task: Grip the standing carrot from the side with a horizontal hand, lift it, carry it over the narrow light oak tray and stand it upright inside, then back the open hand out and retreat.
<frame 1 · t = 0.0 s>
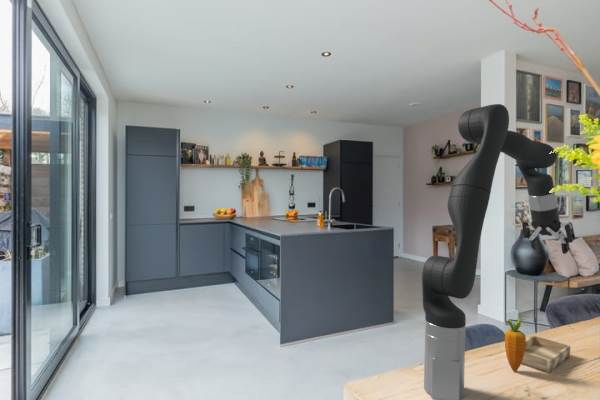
hand: (550, 251, 117), 31 cm above the table, tool tilted 20°, fingers open, 8 cm apart
carrot: (514, 372, 98), on the table
oak tray: (540, 358, 106), on the table
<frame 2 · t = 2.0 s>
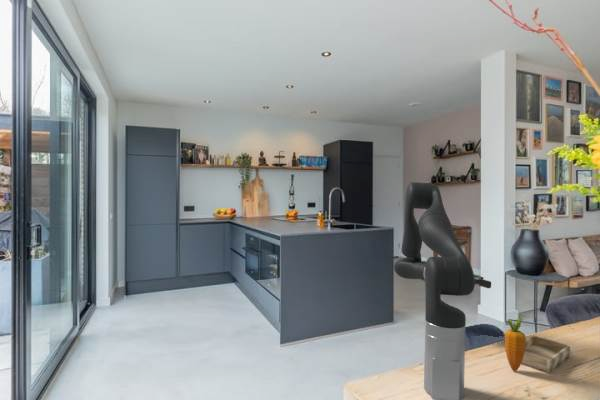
hand: (480, 286, 108), 21 cm above the table, tool horizontal, fingers open, 8 cm apart
nothing on the table moved.
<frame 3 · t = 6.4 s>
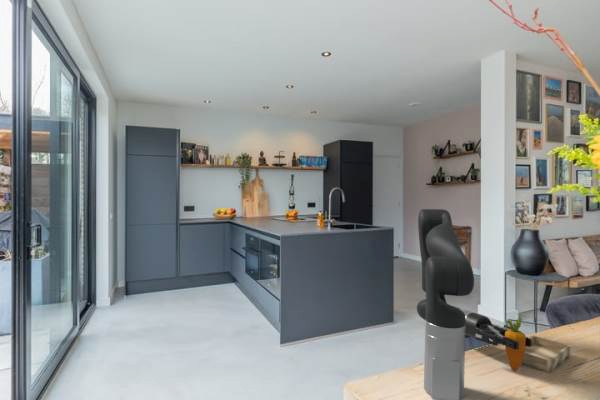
hand: (524, 344, 95), 9 cm above the table, tool horizontal, fingers closed on carrot, 5 cm apart
carrot: (514, 372, 98), on the table, touching gripper
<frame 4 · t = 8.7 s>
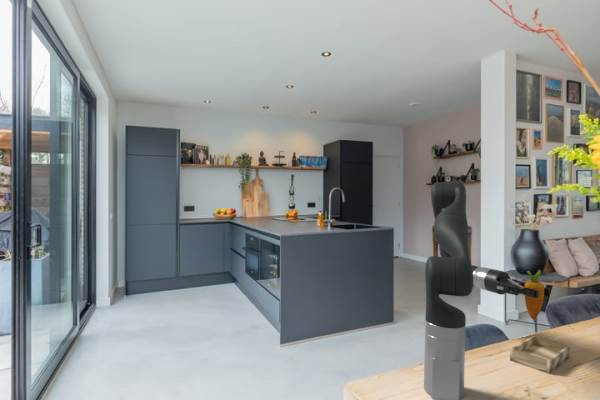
hand: (543, 293, 102), 21 cm above the table, tool horizontal, fingers closed on carrot, 5 cm apart
carrot: (533, 320, 105), point 12 cm above the table, touching gripper
when the fingers open (11 cm above the table, at t = 11.4 s): carrot drops 1 cm, resting on oak tray.
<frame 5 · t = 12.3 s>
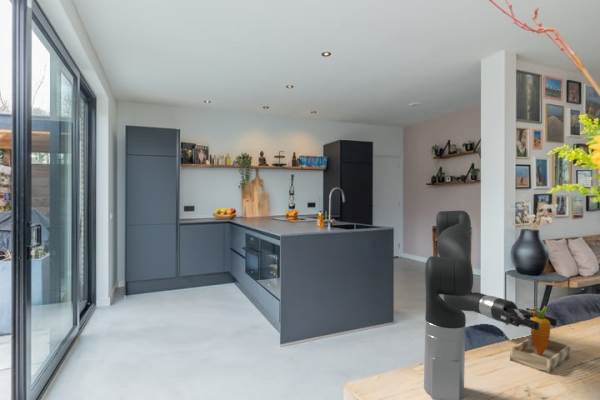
hand: (547, 324, 104), 11 cm above the table, tool horizontal, fingers open, 8 cm apart
carrot: (539, 355, 106), point 1 cm above the table, touching oak tray
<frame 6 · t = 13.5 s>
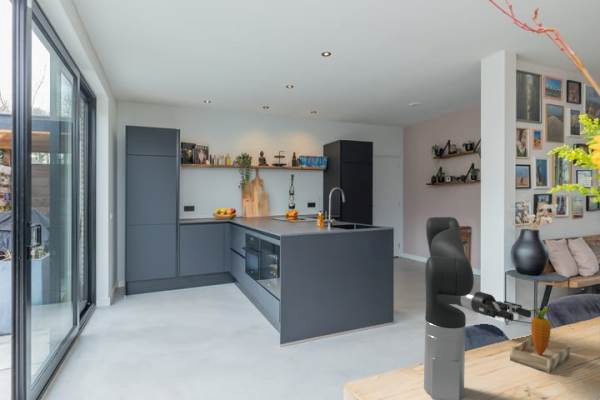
hand: (521, 315, 112), 11 cm above the table, tool horizontal, fingers open, 8 cm apart
nothing on the table moved.
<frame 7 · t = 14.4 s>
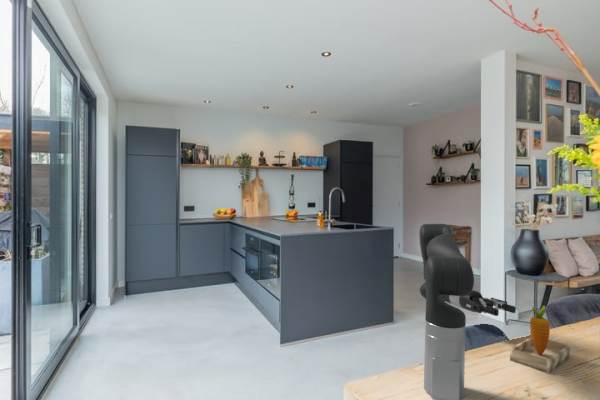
hand: (506, 311, 116), 11 cm above the table, tool horizontal, fingers open, 8 cm apart
nothing on the table moved.
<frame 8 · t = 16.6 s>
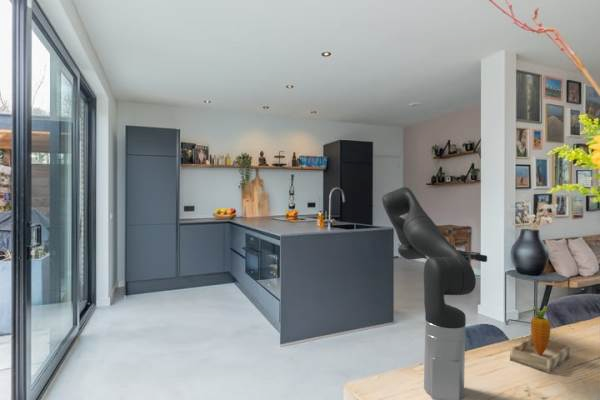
hand: (477, 259, 117), 28 cm above the table, tool horizontal, fingers open, 8 cm apart
nothing on the table moved.
at the end: carrot 0.2 cm off-centre on the oak tray, point 0.8 cm above the oak tray's base; carrot tilted 0°; the gripper is holding nothing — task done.
